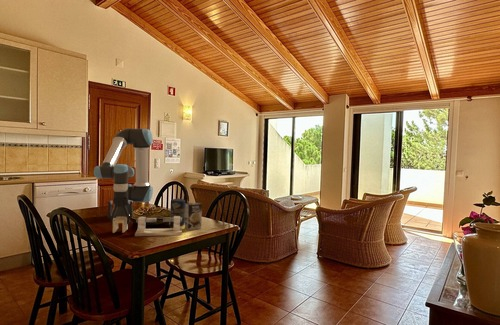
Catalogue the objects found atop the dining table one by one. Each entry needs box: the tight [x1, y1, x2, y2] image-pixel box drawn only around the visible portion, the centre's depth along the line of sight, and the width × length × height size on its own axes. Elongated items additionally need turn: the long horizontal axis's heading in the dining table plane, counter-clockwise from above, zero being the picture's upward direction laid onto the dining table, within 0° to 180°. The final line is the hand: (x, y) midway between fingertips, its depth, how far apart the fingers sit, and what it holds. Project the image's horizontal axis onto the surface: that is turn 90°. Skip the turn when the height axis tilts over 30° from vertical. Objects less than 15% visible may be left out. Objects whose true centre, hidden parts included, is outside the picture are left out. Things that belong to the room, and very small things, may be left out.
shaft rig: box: [134, 216, 183, 237], centre depth 176 cm, size 10×26×10 cm, turn 103°
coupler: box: [112, 216, 127, 234], centre depth 175 cm, size 6×10×7 cm, turn 13°
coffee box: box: [184, 202, 203, 231], centre depth 189 cm, size 9×6×16 cm
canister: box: [169, 197, 186, 226], centre depth 198 cm, size 10×10×18 cm
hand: (120, 229), depth 175 cm, fingers closed on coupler, 6 cm apart
